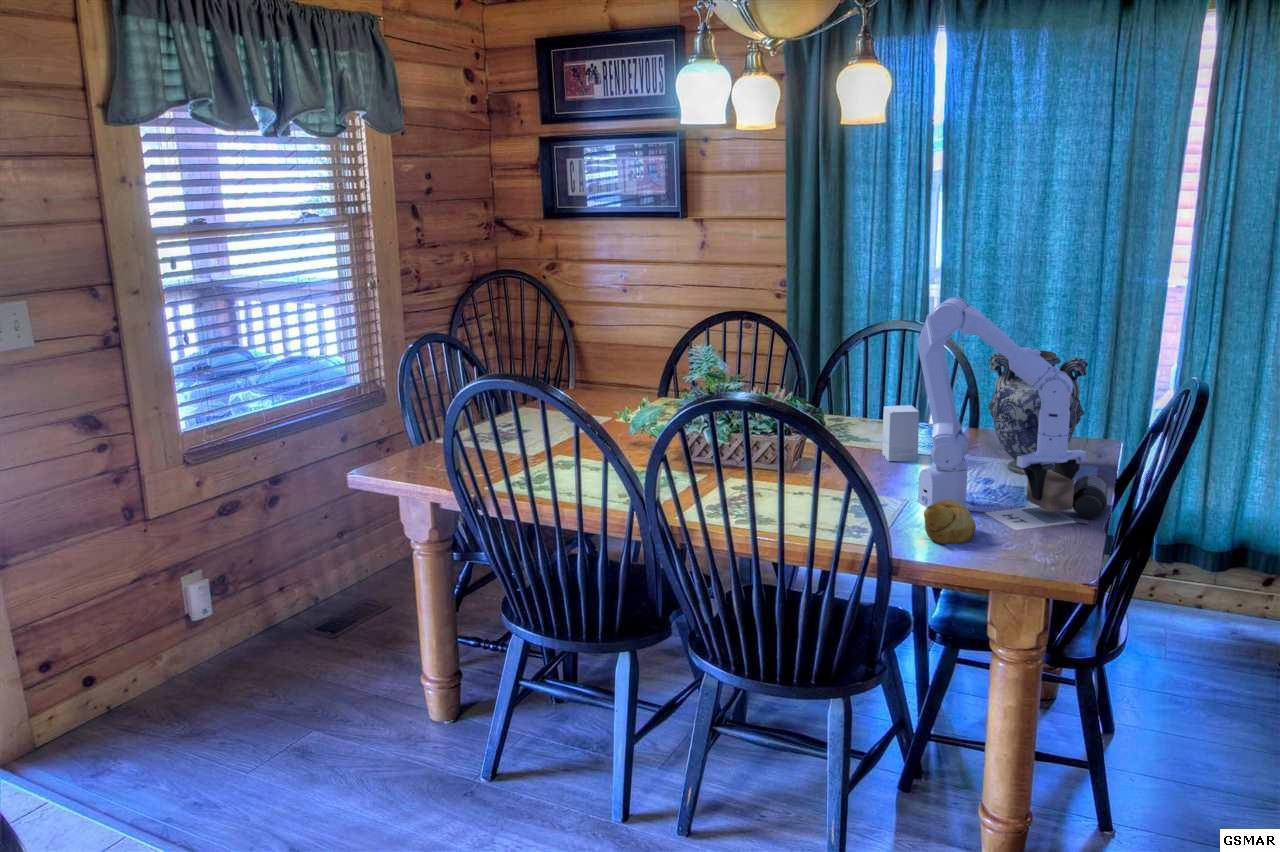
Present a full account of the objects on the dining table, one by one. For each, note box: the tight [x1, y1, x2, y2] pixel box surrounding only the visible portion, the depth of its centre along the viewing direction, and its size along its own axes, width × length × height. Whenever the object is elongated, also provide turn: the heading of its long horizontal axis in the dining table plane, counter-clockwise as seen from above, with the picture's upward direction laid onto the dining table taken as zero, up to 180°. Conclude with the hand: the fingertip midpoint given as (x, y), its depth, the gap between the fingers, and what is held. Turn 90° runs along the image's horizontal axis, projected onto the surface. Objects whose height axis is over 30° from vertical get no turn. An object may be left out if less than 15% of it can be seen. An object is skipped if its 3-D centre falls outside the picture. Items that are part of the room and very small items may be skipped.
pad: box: [1022, 506, 1075, 524], centre depth 211 cm, size 6×9×1 cm
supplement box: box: [881, 404, 920, 462], centre depth 255 cm, size 7×7×13 cm
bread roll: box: [923, 500, 977, 545], centre depth 201 cm, size 13×10×8 cm
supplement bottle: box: [1072, 474, 1109, 519], centre depth 211 cm, size 7×7×12 cm
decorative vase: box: [987, 350, 1089, 476], centre depth 240 cm, size 21×19×28 cm
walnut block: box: [1026, 470, 1075, 512], centre depth 209 cm, size 5×8×6 cm, turn 14°
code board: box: [984, 505, 1077, 531], centre depth 210 cm, size 14×11×1 cm
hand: (1048, 497), depth 210 cm, fingers closed on walnut block, 5 cm apart
